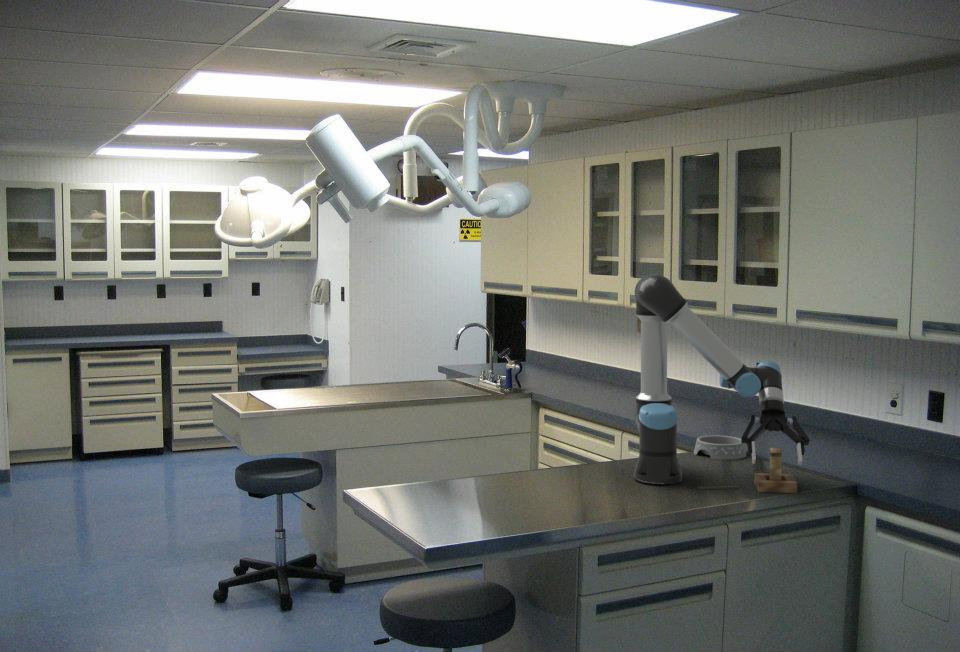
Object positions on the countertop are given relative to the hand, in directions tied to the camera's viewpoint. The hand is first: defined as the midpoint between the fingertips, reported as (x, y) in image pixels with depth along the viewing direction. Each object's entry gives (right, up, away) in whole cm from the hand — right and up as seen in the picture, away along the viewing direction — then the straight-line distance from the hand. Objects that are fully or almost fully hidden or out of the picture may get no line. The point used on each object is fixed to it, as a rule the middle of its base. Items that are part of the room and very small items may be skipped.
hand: (777, 462), depth 278 cm
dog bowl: (-5, -4, +46) cm, 47 cm away
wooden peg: (0, -8, 0) cm, 8 cm away
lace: (-18, -8, 0) cm, 19 cm away
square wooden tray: (0, -8, 0) cm, 8 cm away
